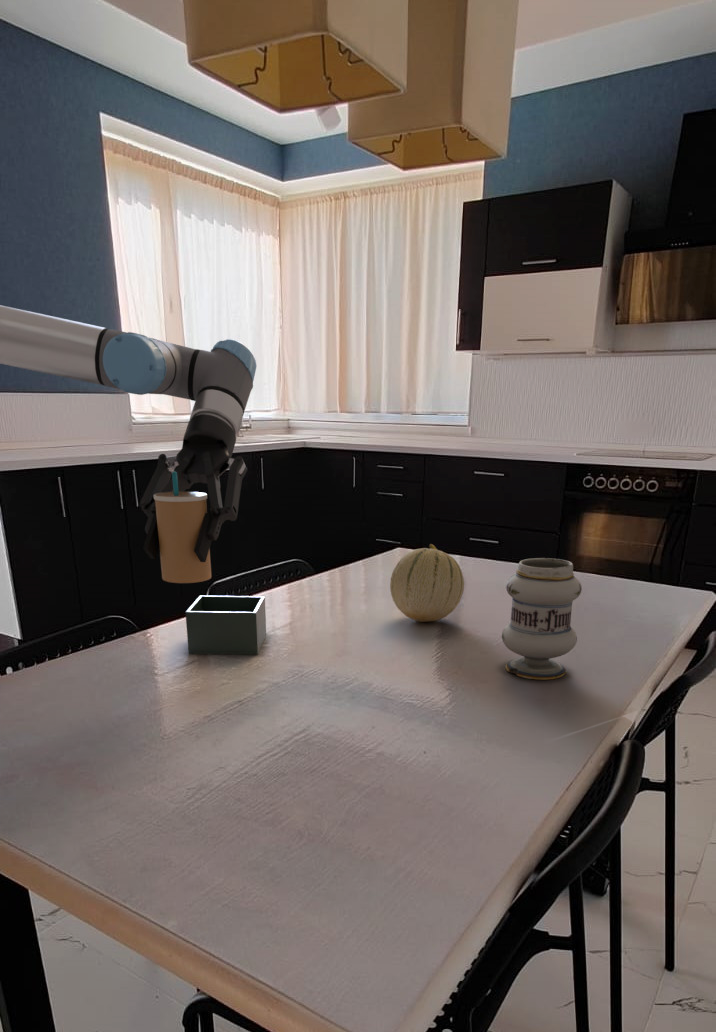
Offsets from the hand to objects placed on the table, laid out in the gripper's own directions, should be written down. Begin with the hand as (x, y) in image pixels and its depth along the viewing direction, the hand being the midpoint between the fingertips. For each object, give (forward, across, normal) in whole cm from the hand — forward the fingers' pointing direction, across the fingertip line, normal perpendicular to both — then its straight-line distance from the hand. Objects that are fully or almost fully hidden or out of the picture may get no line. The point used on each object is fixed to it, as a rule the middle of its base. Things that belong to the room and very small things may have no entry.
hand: (174, 554), depth 110 cm
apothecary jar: (-2, -52, -32) cm, 61 cm away
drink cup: (0, 0, -5) cm, 5 cm away
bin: (-3, +3, -32) cm, 32 cm away
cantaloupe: (-21, -29, -51) cm, 62 cm away
